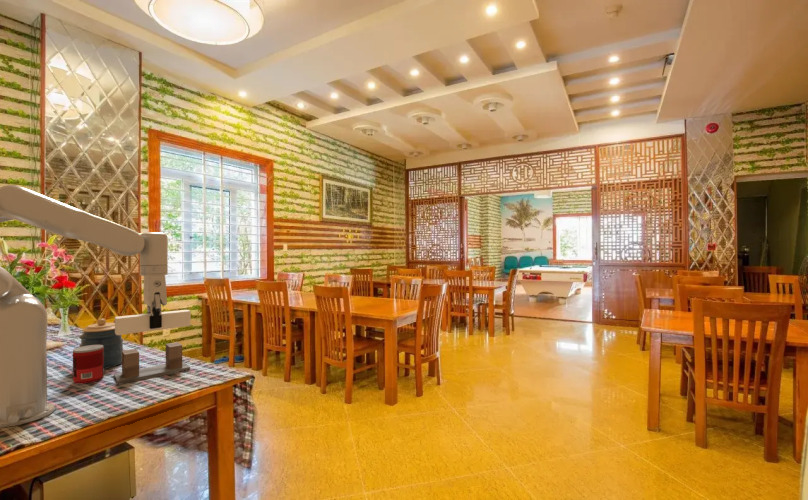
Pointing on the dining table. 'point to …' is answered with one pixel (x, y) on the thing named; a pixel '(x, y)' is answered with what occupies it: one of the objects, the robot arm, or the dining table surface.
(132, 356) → the post stand
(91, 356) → the canned food
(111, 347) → the canister
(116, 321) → the shelf board
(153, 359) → the dining table surface
